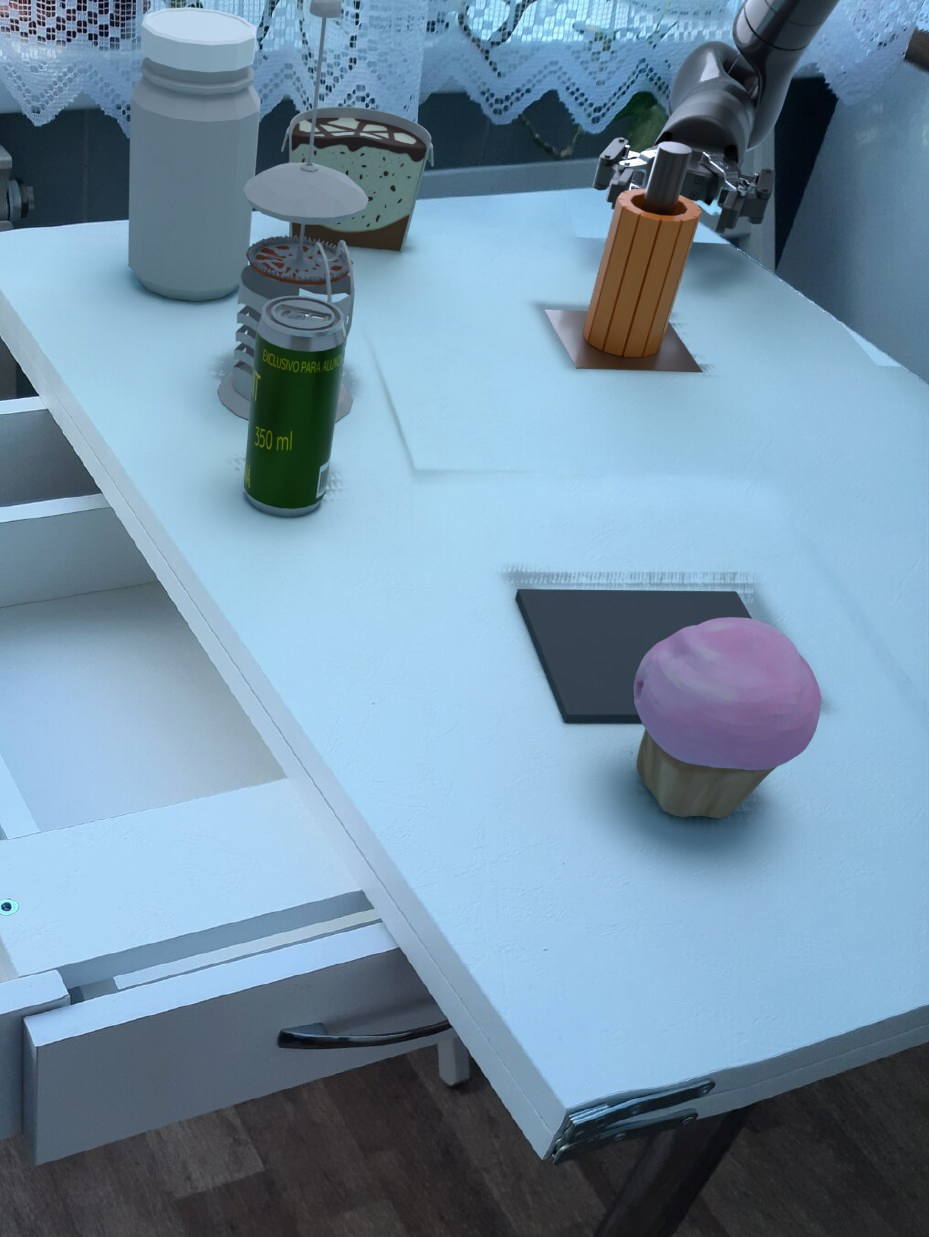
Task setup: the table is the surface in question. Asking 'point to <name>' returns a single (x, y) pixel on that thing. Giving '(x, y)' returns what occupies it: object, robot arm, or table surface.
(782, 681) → the cupcake
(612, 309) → the orange hollow cylinder
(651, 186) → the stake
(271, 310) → the beer can
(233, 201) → the jar
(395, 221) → the food container
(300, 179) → the french press
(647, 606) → the mat
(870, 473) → the table surface
